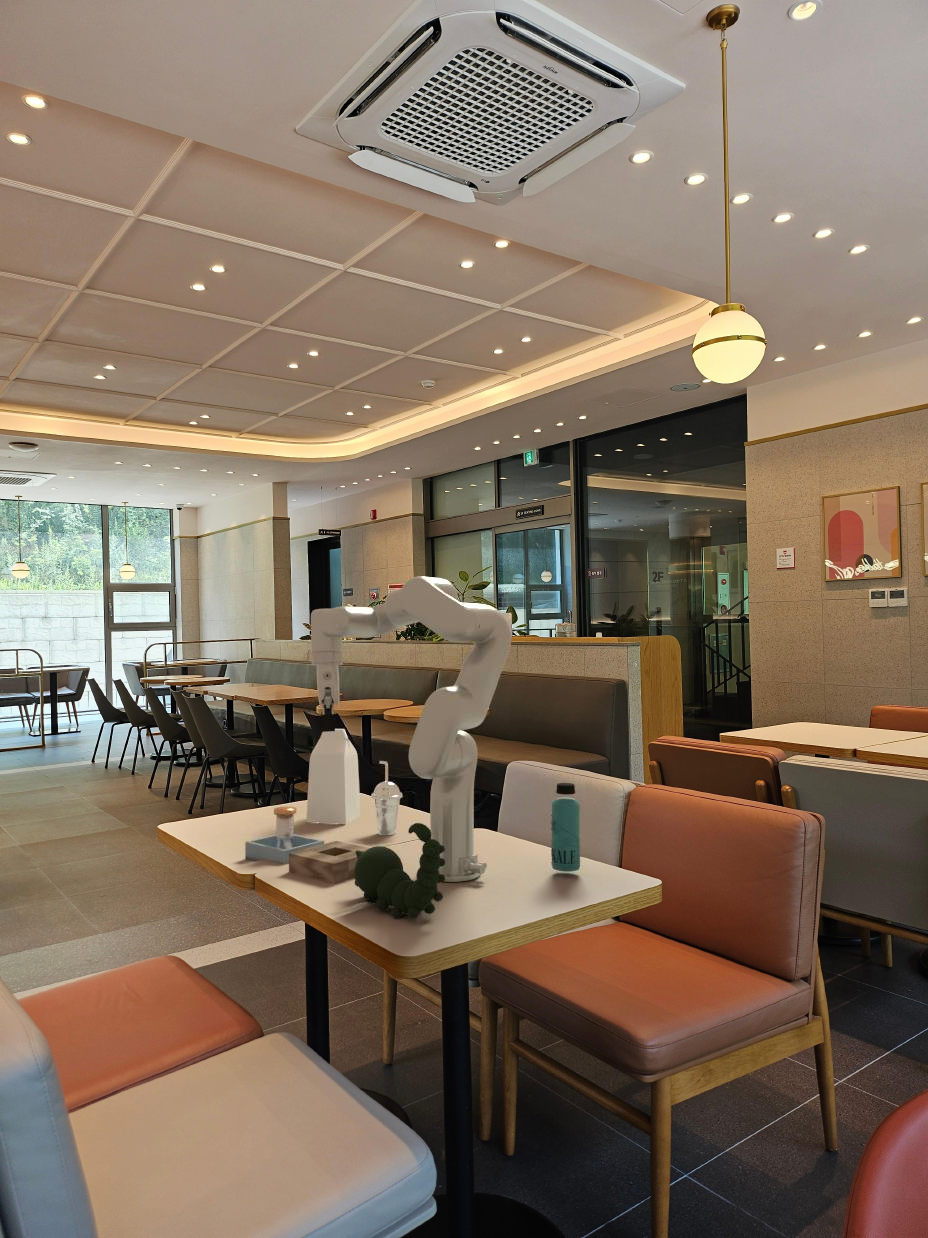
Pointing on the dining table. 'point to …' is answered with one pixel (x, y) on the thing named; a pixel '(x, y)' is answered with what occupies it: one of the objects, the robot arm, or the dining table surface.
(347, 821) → the milk
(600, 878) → the dining table surface
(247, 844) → the tray
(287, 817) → the copper capped shaker
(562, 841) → the beverage bottle
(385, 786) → the cup with straw
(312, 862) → the square wooden block
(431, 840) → the toy figurine
